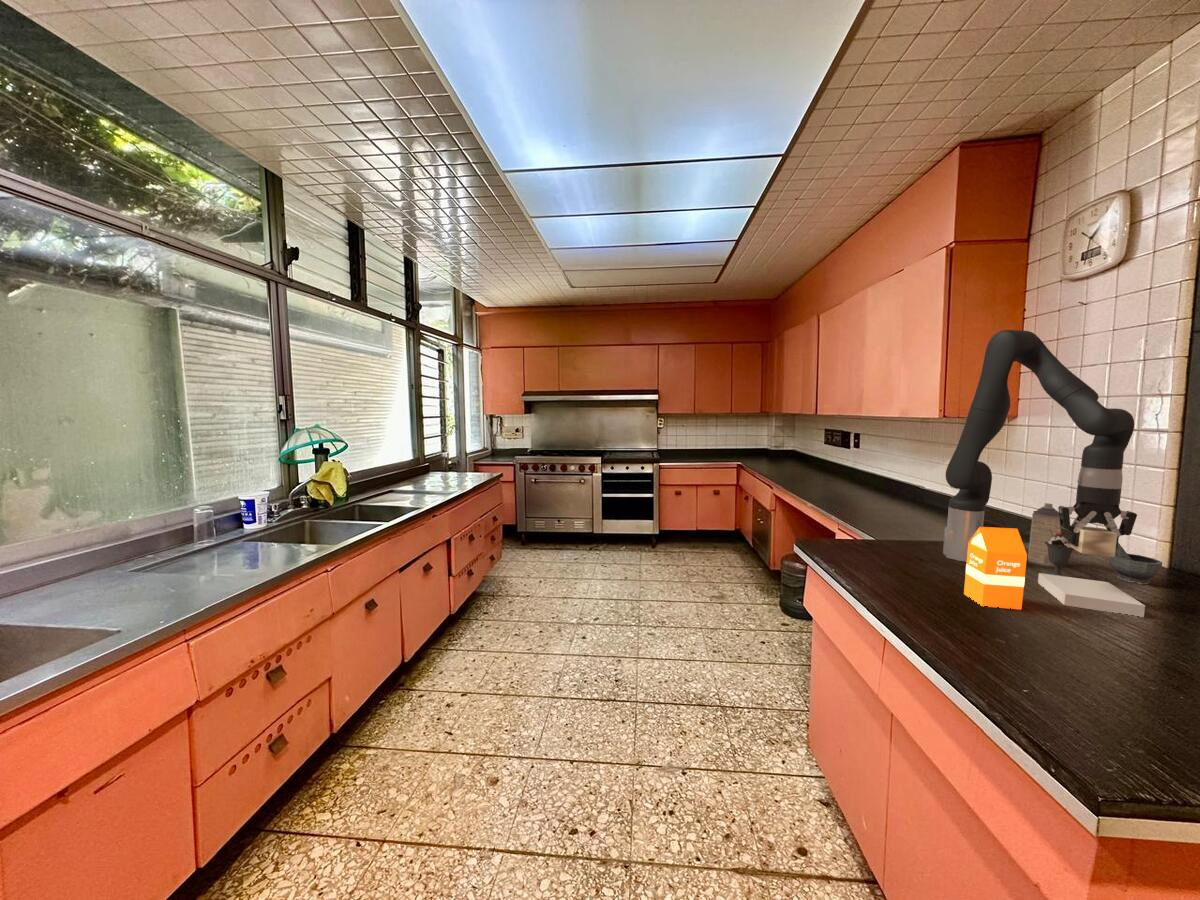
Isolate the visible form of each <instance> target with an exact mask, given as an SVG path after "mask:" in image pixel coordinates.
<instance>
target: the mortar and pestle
mask: <svg viewBox="0 0 1200 900" xmlns="http://www.w3.org/2000/svg"><path fill="white" fill-rule="evenodd" d="M1108 559H1109V560H1108V561H1109V565H1110V567H1112V569H1113V570H1114V571H1115V572H1116V573H1117V574H1116V576H1118V577H1120V578H1122V579H1126V580H1129V581H1135V582H1140V583H1148V582H1149V583H1150V579H1151V578H1154V577H1155V576H1156V575H1158V574H1159V573H1160V571H1161V569H1162V566H1163V562H1162V561H1161V560H1158V559H1156V558H1154V557H1153V558H1152V557H1148V556H1145V555H1140V554H1135V553H1127V551H1126V550H1125V549H1124V548H1123V547H1122V546H1121V544H1120V543H1119V542H1118V547H1117V548H1116V549H1115V557H1111V556H1108Z"/></svg>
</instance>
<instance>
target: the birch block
mask: <svg viewBox="0 0 1200 900" xmlns="http://www.w3.org/2000/svg"><path fill="white" fill-rule="evenodd" d="M1078 533H1080V536H1079V545H1078V547H1077V546H1073V545H1072V544H1071V543H1070V544H1071V545H1070V547H1072V548H1073V550H1074V551H1075V550H1076V552H1079V553H1080V554H1086V555H1094V556H1103V557H1109V556H1111V557H1115V549H1116V541H1117V534H1116V533H1114V532H1111V531H1109V530H1107V529H1106V528H1104V527H1094V526H1084V527H1083V528H1082V529H1080V532H1078Z"/></svg>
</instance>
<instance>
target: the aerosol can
mask: <svg viewBox="0 0 1200 900" xmlns="http://www.w3.org/2000/svg"><path fill="white" fill-rule="evenodd" d="M1060 527H1061V526H1060V520H1059V510H1057V509H1056V508H1055V507H1053V503H1048V502H1047V503H1046V502H1045V503H1044V506H1041V507H1039V508H1038V509H1036V510H1034V511H1033V513H1032V517H1031V526H1030V535H1029V544H1028V553H1027V562H1028V563H1029V564H1033V565H1036V566H1039V565H1040V567H1044V566H1046V567H1045V568H1055V565H1054V564H1053V563H1051V562H1050V560H1049V557H1048V547H1047V545H1046V544H1045V543H1044V542H1046V541H1049V540H1051V538H1052V537H1053V536H1055V535H1056V533H1059V532H1060V531H1061V532H1060V534H1062V528H1063V527H1061V529H1060Z"/></svg>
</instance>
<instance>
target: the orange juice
mask: <svg viewBox="0 0 1200 900" xmlns="http://www.w3.org/2000/svg"><path fill="white" fill-rule="evenodd" d="M1018 529H1019V528H1012V527H1011V528H1009V527H993V526H991V527H990V526H989V527H988V526H983V527H979V529H978V530H977V531H976V533H975V534H974V536H973V537H972V539H971V540H970V541H969V543H968V553H967V562H966V565H965V576H964V578H965V579H964V588H963V595H965V596H966V597H967V598H969V597H970V598H971V599H970V598H969V599H970V600H972V601H973V600H974V601H973V602H975V603H976V602H977V604H978V605H979V604H980V605H979V606H981V607H984V606H988V607H987V608H997V607H999V608H1000V609H1010V608H1011V610H1012V609H1013V610H1022V605H1023V598H1024V590H1025V588H1024V587H1025V581H1026V580H1025V579H1026V569H1027V561H1028V553H1027V551H1026V549H1025V545H1024V542H1023V541H1022V537H1021V535H1020V532H1019V530H1018Z"/></svg>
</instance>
